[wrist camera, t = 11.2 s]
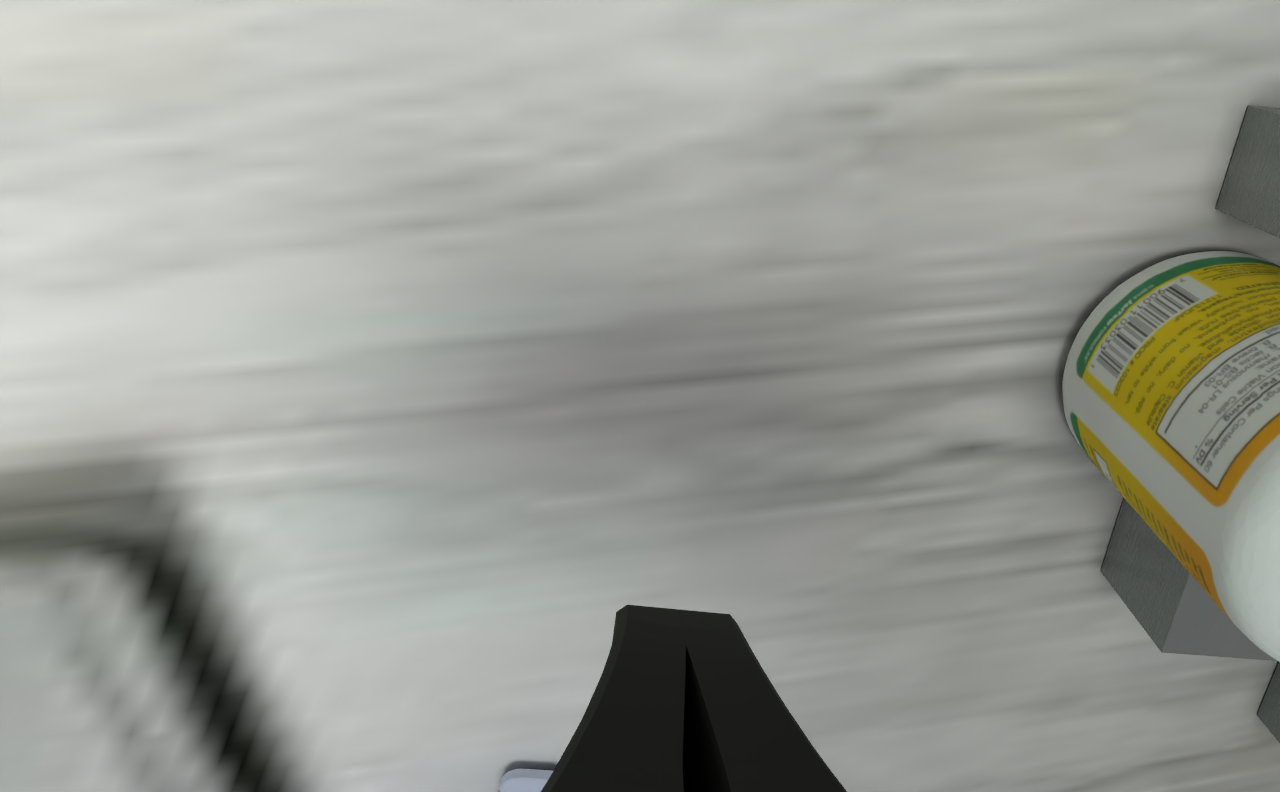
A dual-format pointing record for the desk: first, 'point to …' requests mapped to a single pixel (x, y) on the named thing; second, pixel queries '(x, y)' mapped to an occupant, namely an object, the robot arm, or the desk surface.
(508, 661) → the desk surface
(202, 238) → the desk surface
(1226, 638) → the dock
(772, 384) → the desk surface
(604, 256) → the desk surface
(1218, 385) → the supplement bottle
